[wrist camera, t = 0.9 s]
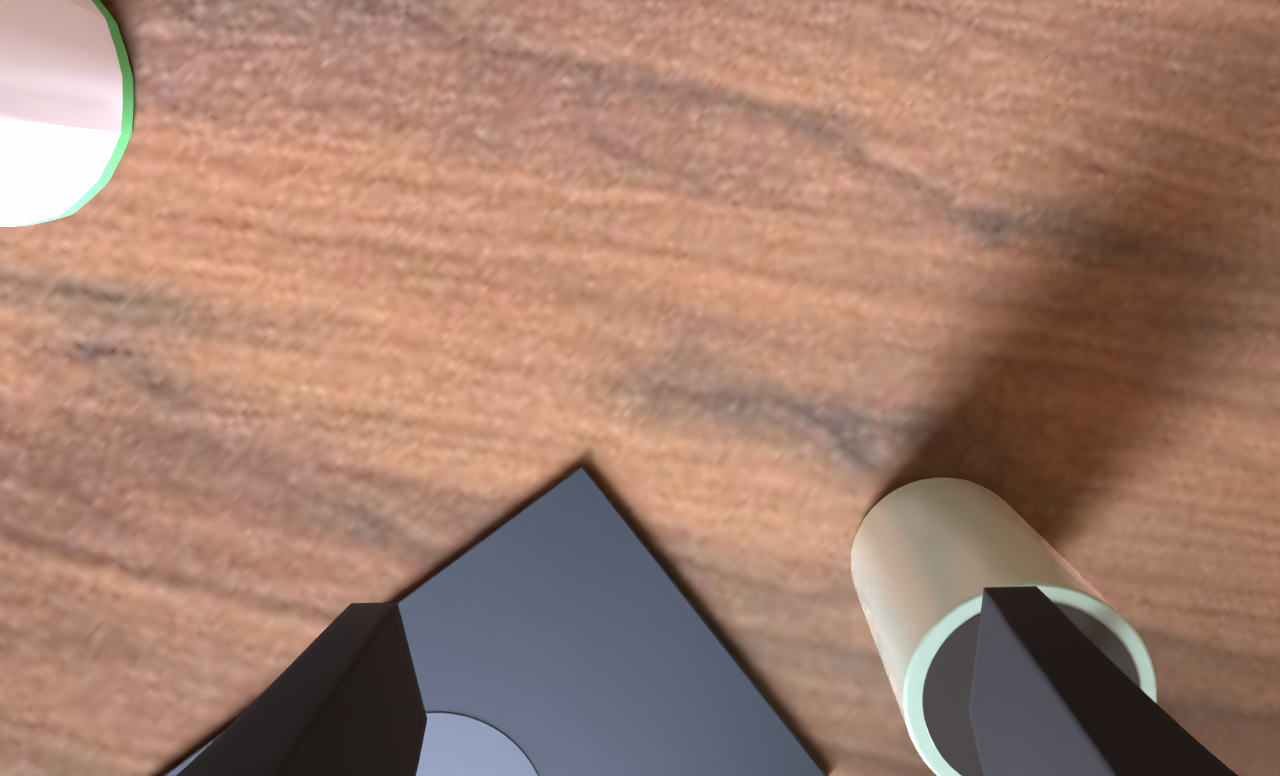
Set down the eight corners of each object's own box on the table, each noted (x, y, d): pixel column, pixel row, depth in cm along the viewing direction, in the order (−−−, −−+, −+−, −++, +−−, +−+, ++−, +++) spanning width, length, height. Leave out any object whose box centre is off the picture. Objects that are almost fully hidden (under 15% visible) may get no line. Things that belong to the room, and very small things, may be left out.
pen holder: (1064, 580, 28) (1246, 766, 19) (916, 674, 29) (1015, 900, 19) (962, 442, 28) (1093, 559, 18) (815, 542, 29) (864, 705, 19)
